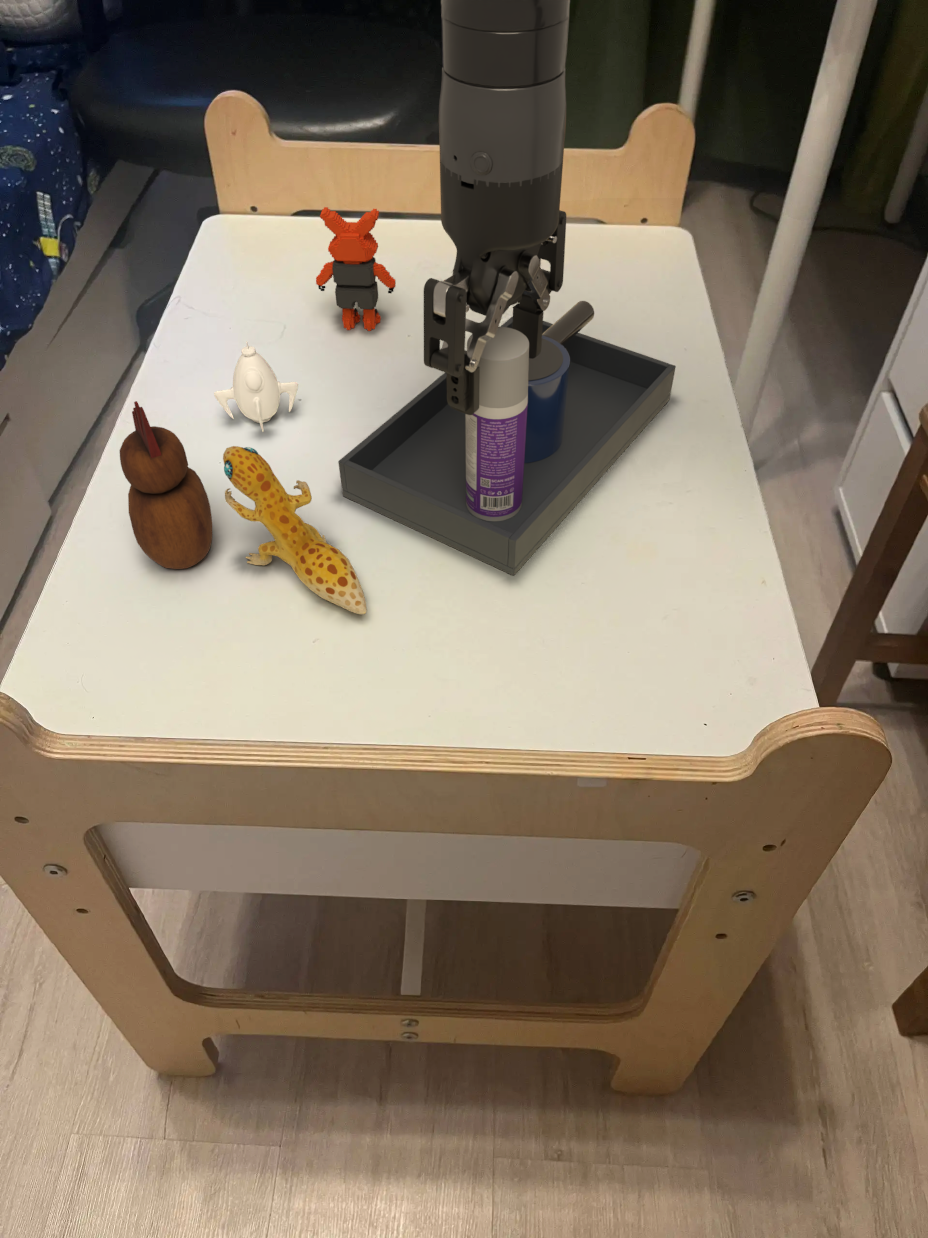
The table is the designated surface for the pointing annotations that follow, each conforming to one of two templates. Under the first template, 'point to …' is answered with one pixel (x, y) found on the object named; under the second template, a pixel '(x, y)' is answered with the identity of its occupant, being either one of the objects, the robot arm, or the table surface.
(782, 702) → the table surface
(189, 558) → the wooden figurine
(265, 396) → the rocket toy
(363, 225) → the toy animal
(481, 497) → the container
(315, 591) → the toy
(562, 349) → the blue saucepan
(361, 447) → the tray
